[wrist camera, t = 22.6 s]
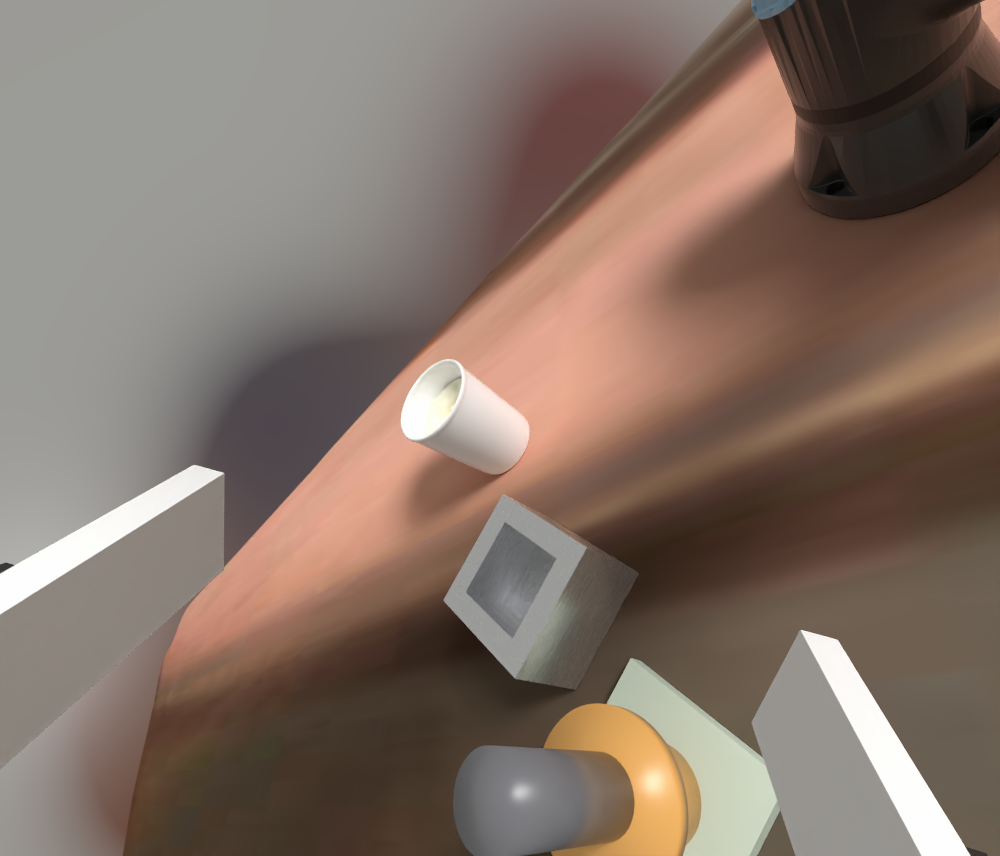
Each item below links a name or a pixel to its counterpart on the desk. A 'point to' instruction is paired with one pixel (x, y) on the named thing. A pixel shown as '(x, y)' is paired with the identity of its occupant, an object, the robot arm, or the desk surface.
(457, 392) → the candle holder
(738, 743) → the mat
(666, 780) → the end cover
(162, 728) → the desk surface
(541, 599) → the block
